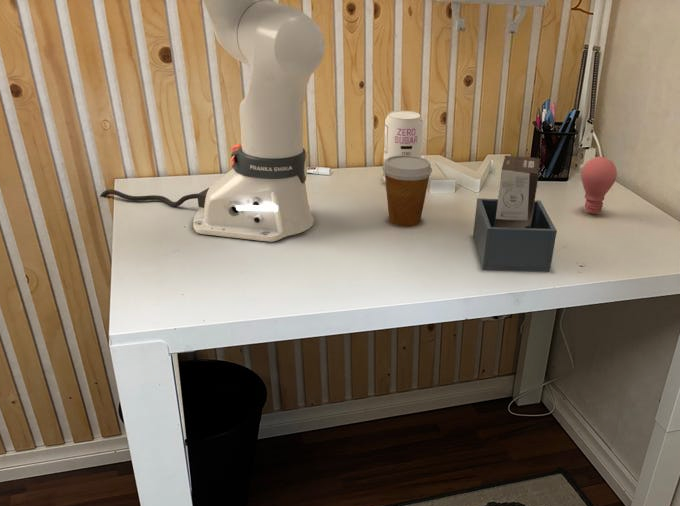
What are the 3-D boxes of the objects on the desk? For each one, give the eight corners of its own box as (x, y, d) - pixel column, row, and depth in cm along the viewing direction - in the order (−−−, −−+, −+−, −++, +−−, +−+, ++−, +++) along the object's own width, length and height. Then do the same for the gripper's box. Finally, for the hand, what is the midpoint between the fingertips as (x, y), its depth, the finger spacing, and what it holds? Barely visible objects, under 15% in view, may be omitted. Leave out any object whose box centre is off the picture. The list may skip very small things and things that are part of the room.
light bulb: (573, 217, 153) (583, 160, 147) (575, 205, 159) (585, 150, 153) (608, 221, 152) (619, 164, 146) (608, 209, 158) (620, 154, 152)
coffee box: (525, 261, 131) (538, 173, 123) (489, 256, 132) (500, 168, 123) (528, 241, 139) (541, 157, 130) (494, 237, 140) (505, 153, 131)
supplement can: (403, 174, 170) (406, 108, 162) (426, 184, 165) (431, 116, 157) (375, 180, 166) (377, 112, 158) (398, 191, 161) (401, 121, 153)
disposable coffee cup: (371, 219, 146) (372, 160, 139) (405, 209, 152) (407, 151, 145) (404, 234, 140) (407, 173, 134) (438, 223, 146) (442, 163, 140)
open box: (482, 269, 129) (487, 228, 125) (472, 236, 141) (477, 198, 137) (549, 271, 130) (556, 230, 126) (534, 238, 142) (540, 200, 138)
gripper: (435, -60, 120) (429, 31, 127) (557, -53, 121) (545, 37, 129) (432, -62, 125) (427, 26, 133) (550, -55, 127) (538, 31, 134)
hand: (486, 32), depth 131 cm, fingers open, 8 cm apart
